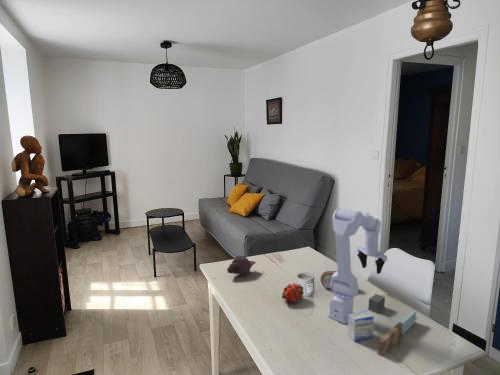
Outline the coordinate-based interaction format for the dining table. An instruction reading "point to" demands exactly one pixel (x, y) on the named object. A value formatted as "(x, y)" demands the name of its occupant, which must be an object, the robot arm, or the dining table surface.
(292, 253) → the dining table surface
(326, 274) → the tin
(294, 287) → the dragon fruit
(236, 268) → the purple toy animal
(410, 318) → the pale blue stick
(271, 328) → the dining table surface
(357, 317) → the medicine box
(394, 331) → the brown wooden plank
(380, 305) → the dark grey block
